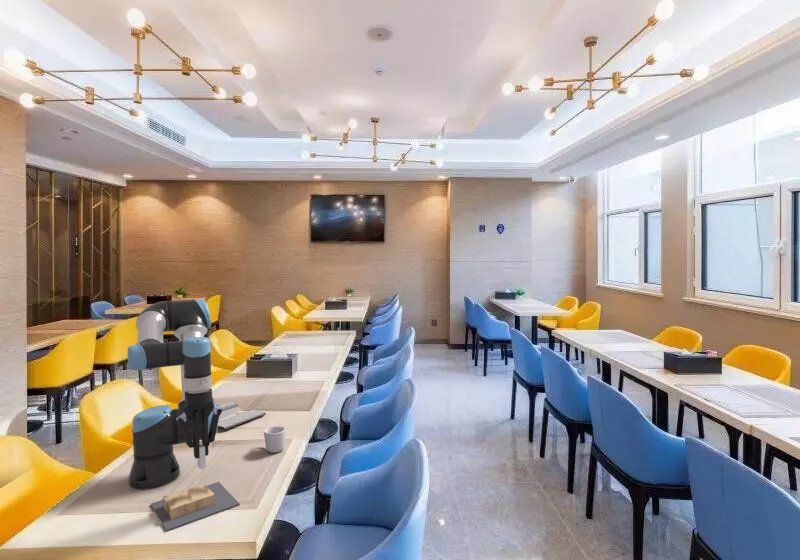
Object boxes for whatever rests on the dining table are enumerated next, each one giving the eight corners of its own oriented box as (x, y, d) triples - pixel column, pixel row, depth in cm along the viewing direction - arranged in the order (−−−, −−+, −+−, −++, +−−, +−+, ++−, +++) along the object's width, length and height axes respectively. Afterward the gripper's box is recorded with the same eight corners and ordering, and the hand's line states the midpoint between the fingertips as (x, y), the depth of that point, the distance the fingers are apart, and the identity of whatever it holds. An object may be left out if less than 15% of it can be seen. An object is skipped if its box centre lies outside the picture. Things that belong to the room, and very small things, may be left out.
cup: (257, 448, 179) (256, 428, 179) (275, 442, 185) (274, 422, 184) (271, 456, 172) (270, 435, 171) (290, 450, 177) (289, 429, 177)
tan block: (205, 492, 145) (163, 506, 137) (204, 483, 145) (162, 496, 137) (215, 504, 138) (171, 519, 131) (214, 494, 138) (170, 509, 130)
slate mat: (150, 505, 139) (150, 503, 139) (218, 483, 152) (218, 481, 152) (166, 531, 126) (166, 530, 126) (239, 505, 138) (239, 503, 138)
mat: (224, 433, 196) (224, 422, 196) (189, 424, 208) (188, 414, 208) (266, 416, 216) (266, 406, 216) (232, 409, 228) (231, 399, 228)
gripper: (178, 397, 132) (182, 478, 133) (225, 387, 140) (228, 464, 141) (171, 391, 137) (174, 469, 139) (216, 383, 146) (219, 456, 147)
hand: (201, 467), depth 140 cm, fingers closed
